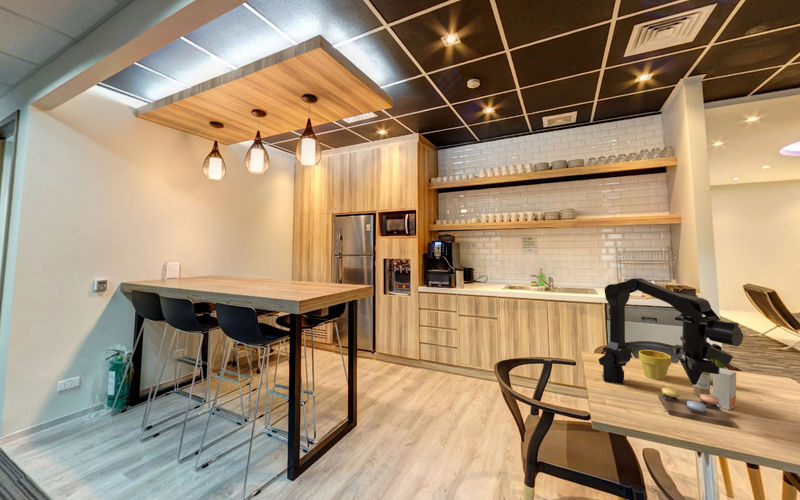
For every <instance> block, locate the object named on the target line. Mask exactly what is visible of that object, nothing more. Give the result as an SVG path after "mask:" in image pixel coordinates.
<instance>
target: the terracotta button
mask: <svg viewBox="0 0 800 500" xmlns="http://www.w3.org/2000/svg"><path fill="white" fill-rule="evenodd" d="M699 399H700V400H702V401H704V402H705V403H706V404H708V405H714V404H719V399H718V398H716V397H714V396H713V395H711V394H710V395H707V394H700V397H699Z"/></svg>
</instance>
